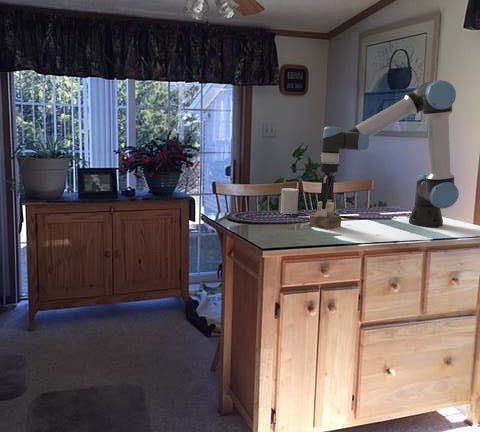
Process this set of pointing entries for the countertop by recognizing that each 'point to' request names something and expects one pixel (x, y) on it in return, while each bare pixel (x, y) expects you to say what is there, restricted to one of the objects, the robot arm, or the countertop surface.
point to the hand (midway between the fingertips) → (325, 215)
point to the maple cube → (329, 210)
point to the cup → (289, 201)
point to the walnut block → (325, 222)
